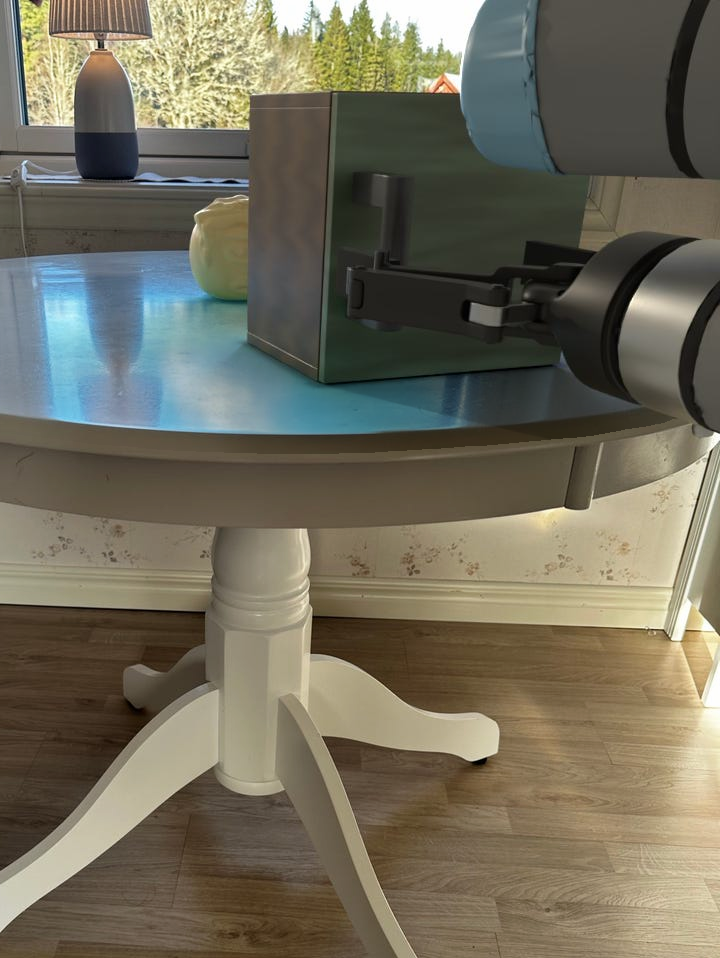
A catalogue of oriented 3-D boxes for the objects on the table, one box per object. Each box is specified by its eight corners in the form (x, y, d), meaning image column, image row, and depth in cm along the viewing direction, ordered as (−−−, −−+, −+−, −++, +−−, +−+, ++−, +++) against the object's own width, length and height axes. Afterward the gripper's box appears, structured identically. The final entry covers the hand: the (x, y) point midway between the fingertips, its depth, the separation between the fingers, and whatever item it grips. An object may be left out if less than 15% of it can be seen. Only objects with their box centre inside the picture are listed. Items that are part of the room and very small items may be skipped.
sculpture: (200, 306, 105) (199, 199, 100) (182, 289, 115) (180, 191, 110) (300, 303, 107) (305, 198, 102) (274, 287, 117) (276, 190, 112)
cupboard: (550, 362, 82) (593, 95, 73) (316, 381, 75) (330, 90, 66) (452, 328, 95) (478, 98, 86) (246, 342, 89) (249, 94, 79)
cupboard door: (606, 380, 76) (660, 96, 67) (357, 402, 69) (378, 90, 60) (552, 361, 82) (595, 97, 72) (318, 380, 75) (331, 92, 66)
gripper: (430, 432, 42) (256, 338, 59) (852, 388, 49) (588, 316, 67) (450, 248, 38) (258, 206, 56) (902, 231, 46) (608, 198, 63)
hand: (437, 266), depth 61 cm, fingers open, 13 cm apart
